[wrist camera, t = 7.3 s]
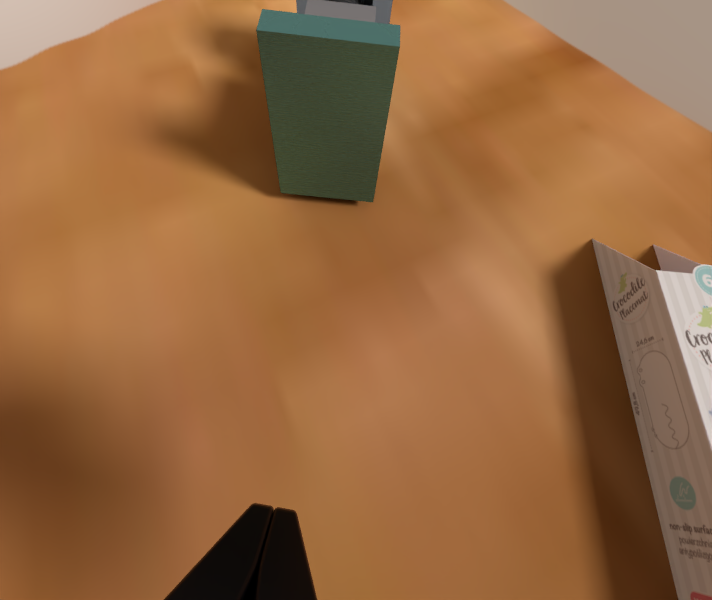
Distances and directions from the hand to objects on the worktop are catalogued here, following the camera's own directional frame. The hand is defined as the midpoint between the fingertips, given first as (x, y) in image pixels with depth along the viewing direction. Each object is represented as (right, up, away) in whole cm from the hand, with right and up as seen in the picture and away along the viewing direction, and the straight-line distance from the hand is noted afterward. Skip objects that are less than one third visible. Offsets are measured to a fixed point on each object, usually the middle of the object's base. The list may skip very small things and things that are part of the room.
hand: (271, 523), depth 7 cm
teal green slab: (0, +17, +21) cm, 27 cm away
